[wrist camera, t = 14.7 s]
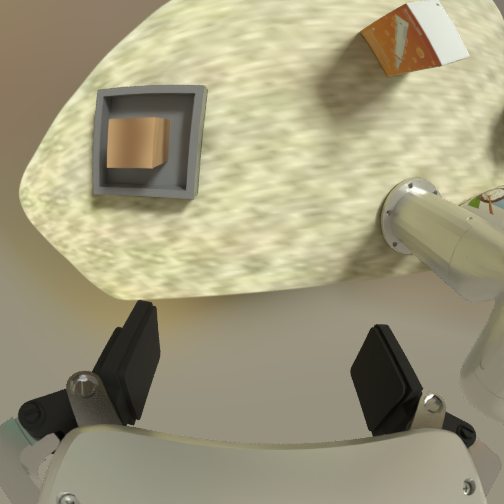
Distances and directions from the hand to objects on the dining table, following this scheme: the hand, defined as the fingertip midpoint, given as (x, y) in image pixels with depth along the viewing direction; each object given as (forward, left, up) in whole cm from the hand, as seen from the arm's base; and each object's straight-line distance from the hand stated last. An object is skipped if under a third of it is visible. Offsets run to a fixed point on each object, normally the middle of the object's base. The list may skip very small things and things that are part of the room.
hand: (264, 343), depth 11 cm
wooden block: (+13, -6, -27) cm, 31 cm away
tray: (+13, -6, -28) cm, 32 cm away
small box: (-18, -25, -28) cm, 42 cm away
